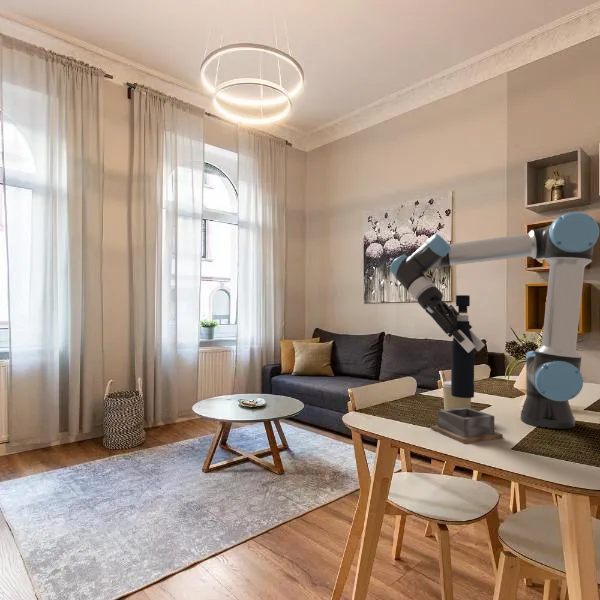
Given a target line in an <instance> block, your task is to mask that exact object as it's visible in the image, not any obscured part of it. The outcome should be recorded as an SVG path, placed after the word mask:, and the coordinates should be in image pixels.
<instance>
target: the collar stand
mask: <svg viewBox="0 0 600 600" xmlns="http://www.w3.org/2000/svg"><path fill="white" fill-rule="evenodd" d="M437 415H438V416H437V418H438V421H437V423H438V424H437V425H431V426H430V429H431V431H434V432H436V433H438V434H441V435H443V436H446V437H448V438H451V439H452V440H456V441H457V442H459V443H462V444H468V443H476V442H482V441H484V442H485V441H490V440H496V439H503V438H504V436H503V433H500V432H497V431H495V426H496V425H495V415H492V414H489V413H487V412H483V411H480V410H477V409H474V408H471V407H470V408H467V407H466V408H456V409H447V410H444V409H439V410H437Z"/></svg>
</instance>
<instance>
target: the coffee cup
mask: <svg viewBox="0 0 600 600" xmlns="http://www.w3.org/2000/svg"><path fill="white" fill-rule="evenodd" d="M441 386H442V395H443V396H442V397H443V407H444V408H443V410H447V409H456V408H466V407H467V408H471V406H472V405H471V403H472V398H459V397H454V396H452V395H451V380H444V381H443V382H442V384H441Z"/></svg>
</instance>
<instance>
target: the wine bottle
mask: <svg viewBox="0 0 600 600" xmlns="http://www.w3.org/2000/svg"><path fill="white" fill-rule="evenodd" d="M470 297H471V296H470V295H467V294H466V295H465V294H461V295H460V294H459V295H455V307H458V308H457V309H458V311H457V312H458V313H459V314H460V315H457V321H456V328H457V329H458V330H461V331H462V332H463V333H464V334H465V336H466V337H467V338H468V339H469V340H470V341H471V342H472V343H473V339H472V336H471V333H470V331H469V324H470V321H469V315H468V307H470V305H471V303H470V300H471V299H470ZM458 330H457V331H458ZM452 337H453V336H452ZM450 352H451V356H450V357H451V364H450V366H451V367H450V370H451V371H450V372H451V373H450V381H451V395H452V396H454V397H459V398H471V399H472V398H474V397H475V348H473V349H472V350H471V351H470V352H469V353H468V352H467V351H466V350H465V349H464V348H463V347H462V346H461V345H460V343H459V342H458V341H457V340H456V339H455V338H454V337H453V338H452V342H451V351H450Z"/></svg>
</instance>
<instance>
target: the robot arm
mask: <svg viewBox="0 0 600 600" xmlns="http://www.w3.org/2000/svg"><path fill="white" fill-rule="evenodd" d="M599 236H600V228H599V224H598V222H597V221H596V220H595V219H594V218H593V217H592V216H591V215H589V214H587V213H584V212H580V211H573V212H566V213H565V214H562V215H560V216H558V217H557V218H555V219H554V220H553V221H552V223H551V224H550V225H547V226H545V227H540V228H537V229H536V228H535V229H530V230H529V232H528V233H522V234H515V235H507V236H500V237H494V238H493V237H492V238H485V239H480V240H479V239H478V240H470V241H461V242H455V243H450V244H449V243H448V242H447V241H446V240H445V239H444V238H443V237H442V236H441V235H439V234H438V233H435V234H433V235H432V236H431V237H429V238H427V239H426V241H425V242H424V243H422V245H421V246H420V247H418V249H416V251H414V252H413V253H412V254H411V255H409V256H407V255H404V254H403V255H400V256H399V257H396V258H395V259H394V260H393V261H392V262H391V265H390V268H389V269H390V272H391V274H392V275H393V276H394V278H395V279H396V280H397V281H398V282H399V283H400V284H401V285H402V287H403V288H404V289H405V290H406V291H407V292H408V293H409V294H410V295H411V298H413V299H414V300H415V301H417V303H418V305H419V306H420V307H421V308H422V309H423V310H424V311H425V313H427V314H428V315H429V316H430V317H431V318H432V319H433V321H434V322H436V325H438V326H439V327H440V328H441V330H442V331H443V332H444V333H445V334H446V335H447V336H448V337H449V338H451V337H454V338H455V339H456V340H457V341H458V342H459V343H460V345H461V346H462V347H463V348H464V349H465V350H466V351H467V352H468V353H469V352H470V351H471V350H472V349H473V348H474V350H476V351H477V352H480V351H481V350H482V349H483V348H484V347H485V346H486V344H485V343H484V342H483V341H482V340H481V339H480V338H479V337H478V336H477V335H476V334H475V333H474V332H473V330H471V329H472V328H473V326H472V325H471V324H470V323H469V331H470V333H471V336H472V339H473V343H472V342H471V341H470V340H469V339H468V338H467V337H466V336H465V334H464V333H463V332H462V331H461V330H458V329H457V328H456V321H457V315H461V313H458V311H457V310H456V308H455V306H453V304H449V305H448V304H447V302H444V301H443V297H444V295H443V293H442V292H441V290H440V289H438V287H437V286H435V284H434V283H433V282H432V281H431V280H430V279H429V278H428V277H427V275H425V273H427V272H428V271H430V269H439V268H443V267H448V266H449V267H450V266H457V265H458V266H459V265H465V264H467V265H468V264H474V263H483V262H493V261H500V260H501V261H502V260H510V259H519V258H527V257H531V258H532V259H533V260H536V259H544V261H545V262H546V263H547V264H548V265H549V271H548V282H547V283H548V284H547V291H546V301H545V302H546V303H545V309H544V310H545V311H544V320H543V321H544V322H543V329H542V337H541V338H542V339H541V345H540V346H538V348H535V350H529V351H528V352H526V354H525V355H526V357H525V360H524V361H525V365H526V366H525V368H526V370H525V371H526V373H525V374H526V377H525V378H526V381H525V382H526V385H525V386H526V390H525V391H526V397H525V400H524V403H523V405H522V410H520V420H521V421H522V422H523V423H525V424H527V425H532V426H535V427H539V426H540V427H541V428H545V427H547V428H546V429H555V428H556V430H557V429H558V430H559V429H561V430H562V429H564V430H565V429H566V430H567V429H572V428H574V427H576V419H575V416H574V414H573V411H572V408H571V405H570V402H569V400H573V399H574V398H576V397H577V396H578V395H579V394H580V393H581V392H582V390H583V387H584V379H583V378H584V377H583V374H582V372H581V366H582V364H581V363H582V355H581V354H580V352H578V350H577V342H578V333H579V332H578V331H579V323H580V313H581V304H582V294H583V285H584V275H585V268H586V266H588V265H589V264H590V263H592V262H593V254H594V253H593V252H594V246H595V244H596V243H597V241H598V238H599ZM457 330H458V331H457Z"/></svg>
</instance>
